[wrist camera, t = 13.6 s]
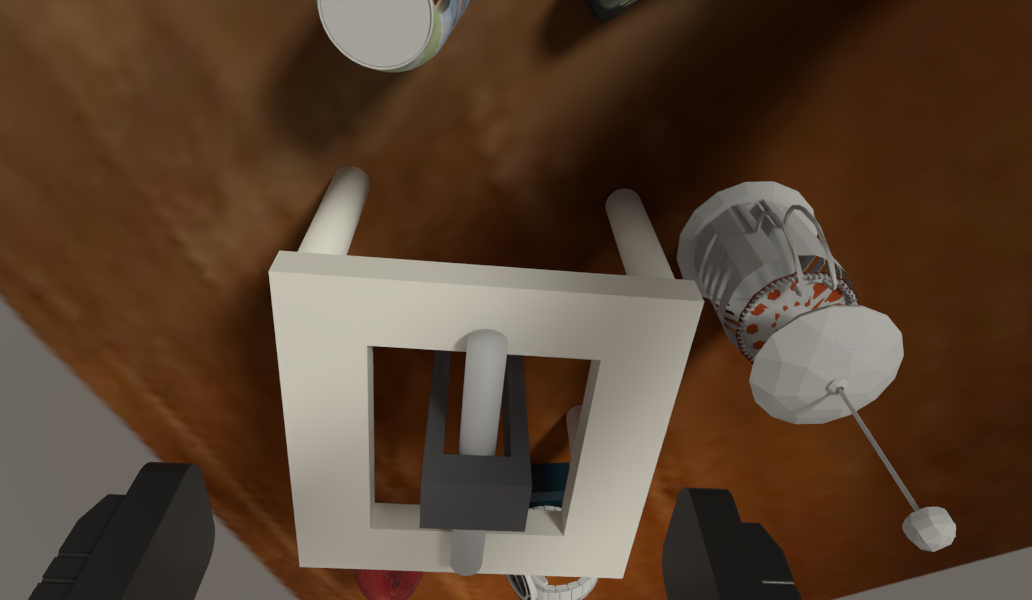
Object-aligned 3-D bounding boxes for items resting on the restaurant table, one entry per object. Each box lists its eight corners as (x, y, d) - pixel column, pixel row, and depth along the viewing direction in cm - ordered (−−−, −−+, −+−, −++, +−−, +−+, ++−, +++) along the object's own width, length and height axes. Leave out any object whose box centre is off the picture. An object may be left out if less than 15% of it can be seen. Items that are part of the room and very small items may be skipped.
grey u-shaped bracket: (522, 354, 44) (531, 486, 35) (517, 396, 46) (524, 531, 37) (434, 349, 44) (421, 482, 35) (432, 391, 46) (419, 528, 37)
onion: (388, 502, 62) (376, 581, 55) (438, 530, 64) (432, 610, 57) (350, 534, 64) (333, 614, 57) (399, 560, 66) (389, 640, 60)
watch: (496, 466, 60) (497, 579, 51) (589, 461, 60) (607, 573, 51) (499, 510, 63) (501, 624, 54) (588, 505, 63) (605, 618, 54)
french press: (681, 314, 52) (811, 631, 31) (669, 171, 46) (823, 446, 25) (814, 291, 51) (1042, 599, 30) (821, 141, 45) (1114, 399, 24)
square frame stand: (649, 186, 46) (715, 324, 33) (595, 430, 58) (627, 605, 44) (327, 159, 44) (256, 294, 31) (339, 416, 56) (292, 594, 43)
